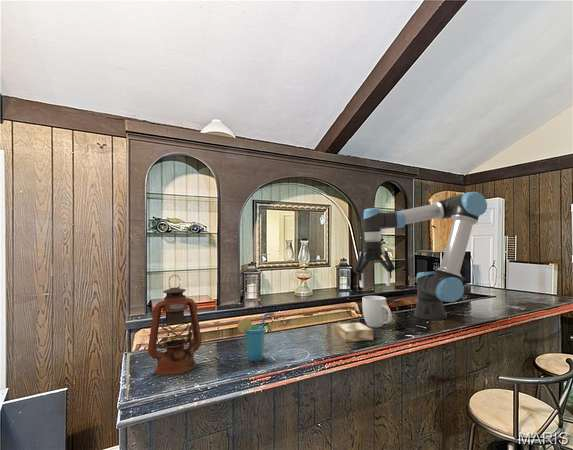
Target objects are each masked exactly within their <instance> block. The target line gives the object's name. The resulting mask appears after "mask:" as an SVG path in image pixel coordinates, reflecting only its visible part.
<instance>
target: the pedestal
mask: <svg viewBox="0 0 573 450" xmlns="http://www.w3.org/2000/svg"><path fill="white" fill-rule="evenodd" d="M334 334H335V335H336V336H337V337H338V338H340V339H341V340H342V341H344V342H345V343H351V342H359V341H360V342H361V341H363V342H364V341H372V340H373V341H374V329H373V328H372V327H369V326H368V325H367V324H364V323H362V322H349V323H337V324H336V323H335V324H334Z"/></svg>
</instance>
